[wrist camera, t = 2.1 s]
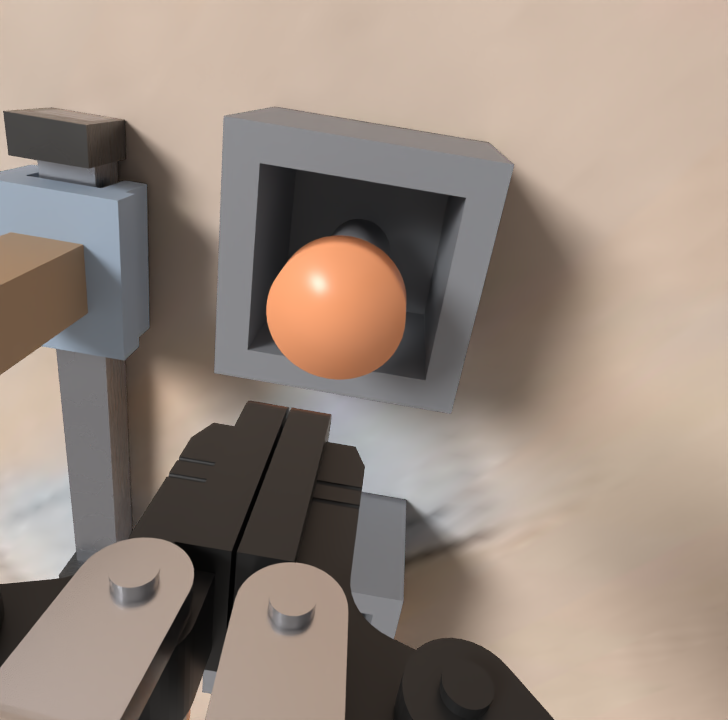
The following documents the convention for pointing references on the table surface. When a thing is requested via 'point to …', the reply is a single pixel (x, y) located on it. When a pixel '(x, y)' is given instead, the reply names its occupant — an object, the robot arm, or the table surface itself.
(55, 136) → the slide rail
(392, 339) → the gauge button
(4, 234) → the carriage
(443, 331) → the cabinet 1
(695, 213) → the table surface
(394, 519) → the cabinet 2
